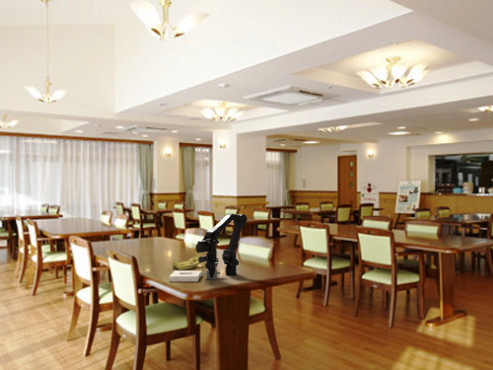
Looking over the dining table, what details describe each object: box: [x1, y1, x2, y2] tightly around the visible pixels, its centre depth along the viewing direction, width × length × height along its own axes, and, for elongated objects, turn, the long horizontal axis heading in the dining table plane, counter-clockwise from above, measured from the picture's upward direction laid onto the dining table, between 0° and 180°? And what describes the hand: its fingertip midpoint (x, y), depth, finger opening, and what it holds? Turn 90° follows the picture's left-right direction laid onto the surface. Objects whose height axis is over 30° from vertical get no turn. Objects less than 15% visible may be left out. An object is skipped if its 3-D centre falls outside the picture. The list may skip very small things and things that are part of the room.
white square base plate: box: [168, 270, 203, 282], centre depth 253 cm, size 17×16×3 cm
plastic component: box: [171, 254, 201, 271], centre depth 287 cm, size 20×7×10 cm
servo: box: [203, 269, 221, 280], centre depth 253 cm, size 10×4×6 cm, turn 88°
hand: (212, 276), depth 253 cm, fingers open, 7 cm apart
